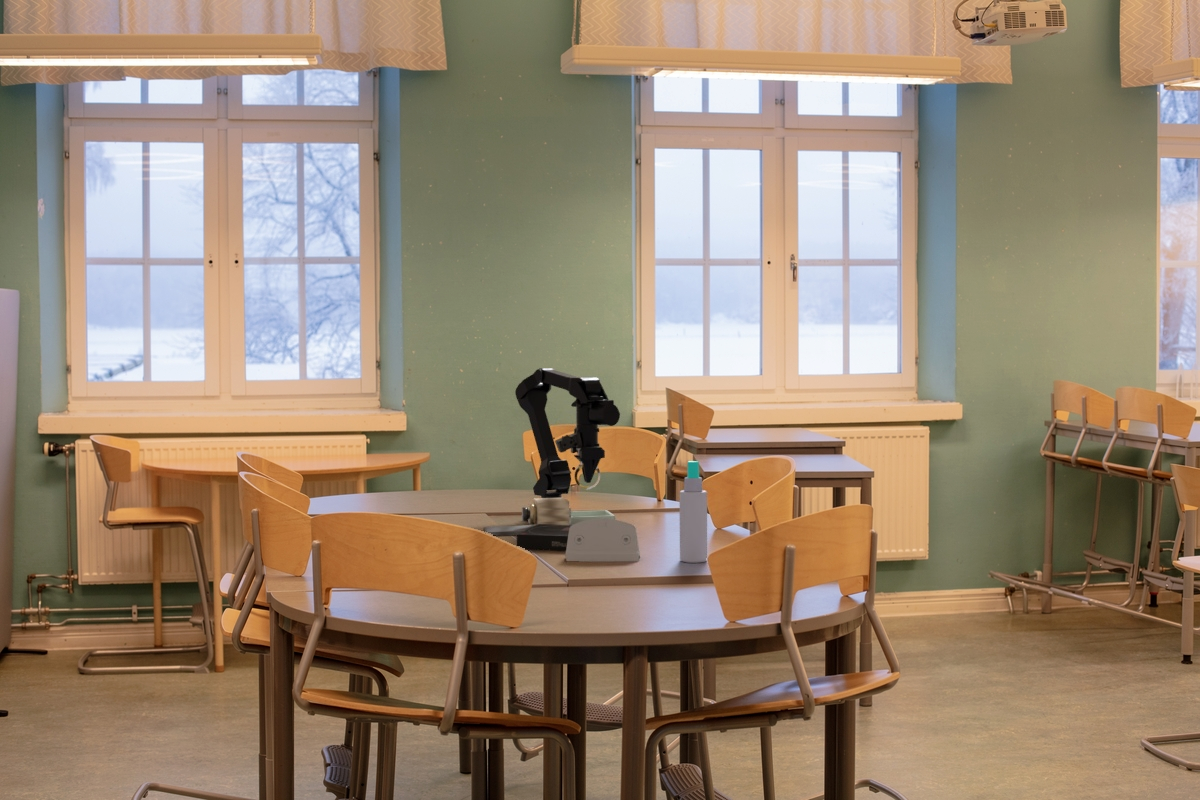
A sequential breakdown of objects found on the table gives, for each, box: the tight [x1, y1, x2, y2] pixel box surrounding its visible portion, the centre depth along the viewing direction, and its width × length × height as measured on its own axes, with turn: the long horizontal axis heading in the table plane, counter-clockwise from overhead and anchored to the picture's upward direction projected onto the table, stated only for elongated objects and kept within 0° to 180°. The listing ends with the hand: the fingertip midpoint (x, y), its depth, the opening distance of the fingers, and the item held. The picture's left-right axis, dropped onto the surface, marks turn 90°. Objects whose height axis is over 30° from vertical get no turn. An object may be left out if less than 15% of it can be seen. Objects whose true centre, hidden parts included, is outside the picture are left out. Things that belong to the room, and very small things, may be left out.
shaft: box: [521, 503, 572, 525], centre depth 304 cm, size 12×5×5 cm, turn 101°
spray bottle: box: [679, 460, 708, 564], centre depth 260 cm, size 6×6×22 cm
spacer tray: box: [569, 509, 616, 524], centre depth 317 cm, size 11×12×2 cm
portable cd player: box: [516, 524, 572, 552], centre depth 283 cm, size 16×17×4 cm
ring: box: [574, 462, 601, 491], centre depth 316 cm, size 7×3×8 cm, turn 91°
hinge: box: [564, 519, 641, 562], centre depth 265 cm, size 17×5×10 cm, turn 88°
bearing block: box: [483, 497, 576, 537], centre depth 303 cm, size 26×9×8 cm, turn 101°
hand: (587, 482), depth 316 cm, fingers closed on ring, 2 cm apart
